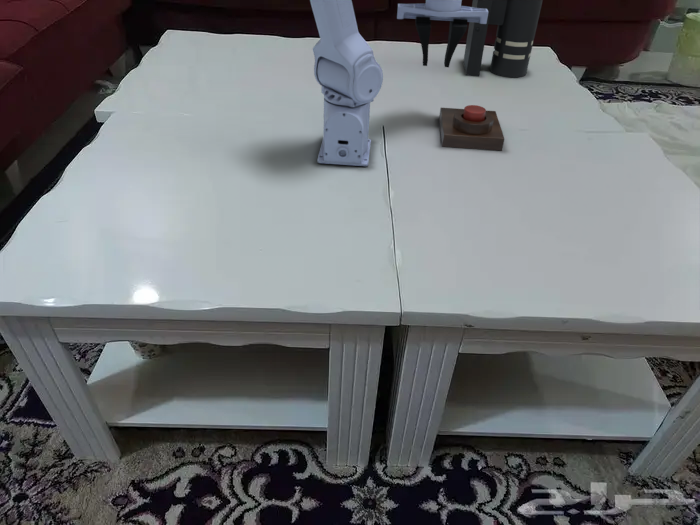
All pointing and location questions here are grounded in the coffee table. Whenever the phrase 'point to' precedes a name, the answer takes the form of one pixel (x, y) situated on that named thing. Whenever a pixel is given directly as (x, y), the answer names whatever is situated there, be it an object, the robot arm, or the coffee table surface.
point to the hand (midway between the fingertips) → (435, 64)
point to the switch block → (470, 130)
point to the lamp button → (474, 113)
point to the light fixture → (503, 36)
